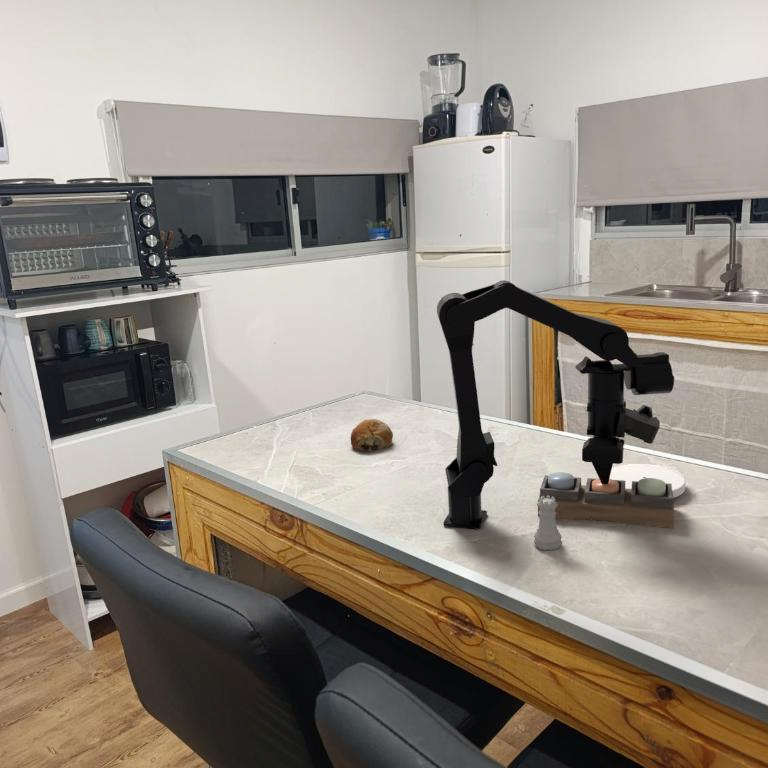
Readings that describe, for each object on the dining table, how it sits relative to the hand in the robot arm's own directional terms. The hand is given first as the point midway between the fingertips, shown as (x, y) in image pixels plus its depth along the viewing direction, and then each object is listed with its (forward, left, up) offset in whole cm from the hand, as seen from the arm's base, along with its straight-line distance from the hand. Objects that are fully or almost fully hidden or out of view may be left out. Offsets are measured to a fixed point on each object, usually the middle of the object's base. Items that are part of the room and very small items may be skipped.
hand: (604, 483), depth 122 cm
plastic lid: (+12, -6, -6) cm, 15 cm away
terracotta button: (0, 0, -2) cm, 2 cm away
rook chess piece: (-14, +8, -6) cm, 17 cm away
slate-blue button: (0, +7, -1) cm, 8 cm away
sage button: (0, -8, -1) cm, 8 cm away
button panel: (0, 0, -5) cm, 5 cm away
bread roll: (+27, +54, -6) cm, 60 cm away
